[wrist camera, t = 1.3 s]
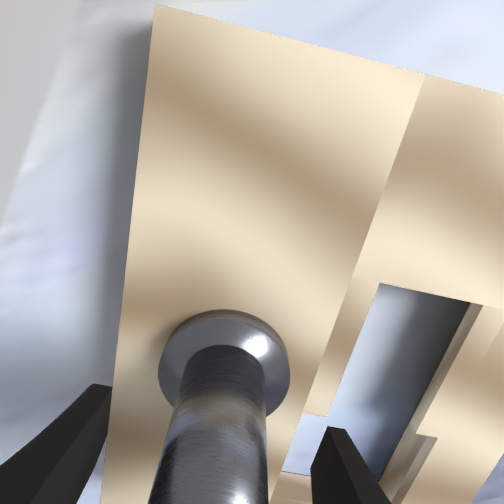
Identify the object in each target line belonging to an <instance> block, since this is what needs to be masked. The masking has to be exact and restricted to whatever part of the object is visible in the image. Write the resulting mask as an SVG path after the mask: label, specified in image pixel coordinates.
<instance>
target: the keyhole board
mask: <svg viewBox="0 0 504 504" xmlns="http://www.w3.org/2000/svg"><path fill="white" fill-rule="evenodd" d="M380 283H383V284H388V285H393V286H397V287H402V288H406V289H411V290H416V291H420V292H425V293H430V294H434V295H439V296H443V297H448V298H453V299H457V300H462V301H467V302H471V303H470V305H469V307H468V309H467V311H466V313H465V315H464V317H463V319H462V321H461V323H460V325H459V327H458V329H457V331H456V333H455V334H454V336H453V338H452V340H451V342H450V344H449V346H448V348H447V350H446V352H445V354H444V356H443V358H442V360H441V362H440V364H439V366H438V368H437V369H436V371H435V373H434V375H433V377H432V379H431V381H430V383H429V385H428V387H427V389H426V391H425V393H424V395H423V397H422V399H421V401H420V402H419V404H418V406H417V408H416V410H415V412H414V414H413V416H412V418H411V420H410V422H409V424H408V426H407V428H406V430H405V432H404V434H403V436H402V437H401V439H400V441H399V443H398V445H397V447H396V449H395V451H394V453H393V455H392V457H391V459H390V461H389V463H388V465H387V467H386V469H385V471H384V472H383V474H382V476H381V478H380V480H379V482H378V484H379V485H380V487H381V488H382V490H383V491H384V493H385V494H386V496H387V498H388V499H389V501H390V502H391V503H392V504H470V503H471V501H472V500H473V498H474V497H475V495H476V494H477V492H478V491H479V489H480V488H481V486H482V485H483V483H484V482H485V480H486V479H487V477H488V476H489V474H490V473H491V471H492V470H493V468H494V467H495V465H496V464H497V462H498V461H499V459H500V458H501V456H502V455H503V453H504V95H503V94H499V93H495V92H491V91H488V90H484V89H480V88H476V87H472V86H469V85H465V84H461V83H457V82H453V81H450V80H446V79H442V78H438V77H434V76H430V75H427V74H423V73H419V72H415V71H411V70H408V69H404V68H400V67H396V66H392V65H388V64H385V63H381V62H377V61H373V60H369V59H366V58H362V57H358V56H354V55H350V54H347V53H343V52H339V51H335V50H331V49H327V48H324V47H320V46H316V45H312V44H308V43H305V42H301V41H297V40H293V39H289V38H285V37H282V36H278V35H274V34H270V33H266V32H263V31H259V30H255V29H251V28H247V27H244V26H240V25H236V24H232V23H228V22H224V21H221V20H217V19H213V18H209V17H205V16H202V15H198V14H194V13H190V12H186V11H182V10H179V9H175V8H171V7H167V6H163V5H160V4H156V3H155V7H154V16H153V26H152V35H151V44H150V53H149V62H148V71H147V80H146V89H145V98H144V107H143V116H142V125H141V134H140V143H139V152H138V161H137V170H136V179H135V188H134V197H133V206H132V215H131V225H130V234H129V243H128V252H127V261H126V270H125V279H124V288H123V297H122V306H121V315H120V324H119V333H118V342H117V351H116V360H115V369H114V378H113V389H112V398H111V407H110V416H109V425H108V434H107V442H106V451H105V460H104V469H103V478H102V487H101V496H100V504H148V500H149V496H150V493H151V489H152V485H153V482H154V478H155V474H156V471H157V467H158V463H159V460H160V456H161V452H162V449H163V445H164V442H165V438H166V434H167V431H168V427H169V423H170V420H171V416H172V412H173V409H174V408H173V407H172V406H171V405H170V403H169V402H168V401H167V400H166V398H165V396H164V395H163V393H162V390H161V388H160V385H159V381H158V365H159V362H160V358H161V355H162V353H163V350H164V348H165V345H166V343H167V340H168V338H169V337H170V335H171V334H172V332H173V331H174V330H175V329H176V328H177V327H178V326H179V325H180V324H181V323H182V322H184V321H185V320H187V319H188V318H190V317H192V316H194V315H196V314H199V313H202V312H205V311H210V310H218V309H230V310H237V311H242V312H246V313H249V314H251V315H254V316H256V317H258V318H260V319H262V320H263V321H265V322H266V323H267V324H269V325H270V326H271V327H272V328H273V329H274V330H275V331H276V332H277V333H278V334H279V336H280V337H281V339H282V340H283V342H284V344H285V347H286V350H287V354H288V360H289V368H290V385H289V389H288V392H287V394H286V397H285V399H284V400H283V402H282V403H281V405H280V406H279V407H278V408H277V409H276V410H275V411H274V412H273V413H272V414H270V415H269V416H267V417H266V433H267V466H268V498H269V504H313V503H312V490H311V476H305V475H299V474H293V473H288V472H282V471H281V469H282V466H283V464H284V461H285V458H286V455H287V453H288V450H289V447H290V444H291V442H292V439H293V436H294V434H295V431H296V428H297V425H298V423H299V420H300V417H301V414H302V412H303V413H308V414H313V415H319V416H324V417H326V416H327V414H328V411H329V409H330V406H331V404H332V401H333V399H334V396H335V394H336V391H337V389H338V386H339V384H340V381H341V379H342V376H343V374H344V371H345V369H346V366H347V364H348V361H349V359H350V356H351V354H352V351H353V349H354V346H355V344H356V341H357V339H358V336H359V334H360V331H361V329H362V326H363V324H364V321H365V319H366V316H367V314H368V311H369V309H370V306H371V304H372V301H373V299H374V296H375V294H376V291H377V289H378V286H379V284H380Z"/></svg>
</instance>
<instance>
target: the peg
mask: <svg viewBox="0 0 504 504" xmlns="http://www.w3.org/2000/svg"><path fill="white" fill-rule="evenodd" d="M158 381H159V385H160V388H161V390H162V393H163V395H164V396H165V398H166V400H167V401H168V402H169V403H170V405H171V406H172V407H173V408H174V409H173V412H172V416H171V420H170V423H169V427H168V431H167V434H166V438H165V442H164V445H163V449H162V452H161V456H160V460H159V463H158V467H157V471H156V474H155V478H154V482H153V485H152V489H151V493H150V496H149V500H148V504H269V498H268V466H267V433H266V417H267V416H269V415H270V414H272V413H273V412H274V411H275V410H276V409H277V408H278V407H279V406H280V405H281V403H282V402H283V400H284V399H285V397H286V394H287V392H288V389H289V385H290V368H289V360H288V354H287V350H286V347H285V344H284V342H283V340H282V339H281V337H280V336H279V334H278V333H277V332H276V331H275V330H274V329H273V328H272V327H271V326H270V325H269V324H267V323H266V322H265V321H263V320H262V319H260V318H258V317H256V316H254V315H251V314H249V313H246V312H242V311H237V310H230V309H218V310H210V311H205V312H202V313H199V314H196V315H194V316H192V317H190V318H188V319H187V320H185V321H184V322H182V323H181V324H180V325H179V326H178V327H177V328H176V329H175V330H174V331H173V332H172V334H171V335H170V337H169V338H168V340H167V343H166V345H165V348H164V350H163V353H162V355H161V358H160V362H159V365H158Z"/></svg>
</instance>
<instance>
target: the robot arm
mask: <svg viewBox="0 0 504 504" xmlns="http://www.w3.org/2000/svg"><path fill="white" fill-rule="evenodd" d="M112 389H113V387H110V386H104V385H99V384H92V385H90V386H89V387H88V388H87V389H86V390H85V391H84V392H83V393H82V394H81V395H80V396H79V397H78V398H77V399H76V400H75V401H74V402H73V403H72V404H71V405H70V406H69V407H68V408H67V409H66V410H65V411H64V412H63V413H62V414H61V415H60V416H59V417H58V418H56V419H55V420H54V421H53V422H52V423H51V424H50V425H49V426H48V427H46V428H45V429H44V430H43V431H42V432H41V433H40V434H39V435H37V436H36V437H35V438H34V439H33V440H32V441H30V442H29V443H28V444H27V445H25V446H24V447H23V448H22V449H21V450H19V451H18V452H17V453H16V454H14V455H13V456H12V457H11V458H10V459H8V460H7V461H6V462H4V463H3V464H2V465H0V504H76V503H77V501H78V499H79V497H80V495H81V493H82V491H83V489H84V487H85V485H86V483H87V481H88V479H89V477H90V475H91V473H92V471H93V469H94V467H95V465H96V462H97V460H98V457H99V455H100V452H101V450H102V447H103V444H104V442H105V439H106V436H107V434H108V425H109V416H110V407H111V398H112ZM310 470H311V490H312V503H313V504H392V503H391V502H390V501H389V499H388V498H387V496H386V494H385V493H384V491H383V490H382V488H381V487H380V485H379V484H378V482H377V481H376V479H375V477H374V476H373V474H372V473H371V471H370V469H369V468H368V466H367V465H366V463H365V461H364V460H363V458H362V456H361V455H360V453H359V451H358V450H357V448H356V446H355V445H354V443H353V442H352V440H351V438H350V437H349V435H348V433H347V432H346V430H345V429H340V428H335V427H329V426H327V429H326V431H325V434H324V436H323V439H322V441H321V444H320V446H319V449H318V451H317V453H316V456H315V458H314V461H313V463H312V466H311V468H310Z"/></svg>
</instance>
